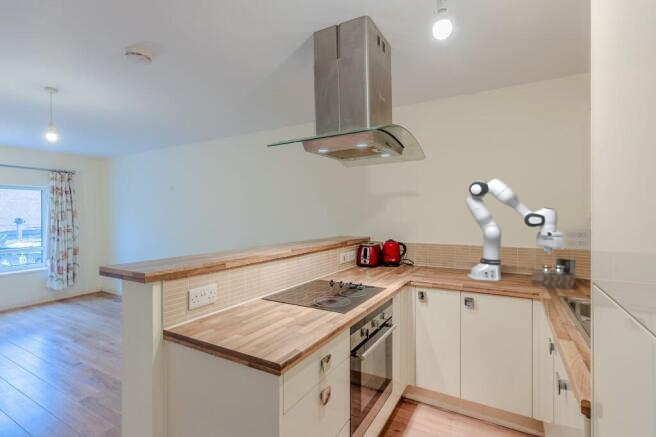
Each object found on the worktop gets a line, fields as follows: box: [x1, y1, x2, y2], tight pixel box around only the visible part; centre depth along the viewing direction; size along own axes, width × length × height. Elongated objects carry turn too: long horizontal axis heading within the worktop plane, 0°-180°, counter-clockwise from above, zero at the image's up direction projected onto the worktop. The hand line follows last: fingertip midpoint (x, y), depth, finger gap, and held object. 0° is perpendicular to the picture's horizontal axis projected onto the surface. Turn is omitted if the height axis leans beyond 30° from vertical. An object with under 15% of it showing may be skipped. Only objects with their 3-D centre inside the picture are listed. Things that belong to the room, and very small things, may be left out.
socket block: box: [531, 271, 575, 290], centre depth 203 cm, size 20×10×8 cm, turn 88°
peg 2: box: [553, 264, 565, 275], centre depth 202 cm, size 6×6×9 cm
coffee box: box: [555, 257, 576, 285], centre depth 214 cm, size 9×6×16 cm
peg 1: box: [541, 264, 553, 275], centre depth 202 cm, size 6×6×9 cm
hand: (547, 253), depth 202 cm, fingers closed
